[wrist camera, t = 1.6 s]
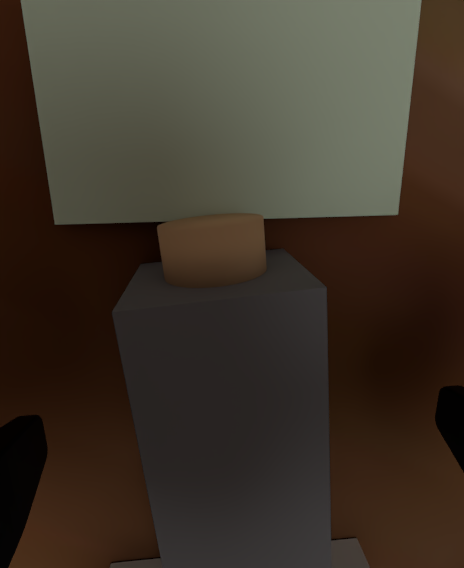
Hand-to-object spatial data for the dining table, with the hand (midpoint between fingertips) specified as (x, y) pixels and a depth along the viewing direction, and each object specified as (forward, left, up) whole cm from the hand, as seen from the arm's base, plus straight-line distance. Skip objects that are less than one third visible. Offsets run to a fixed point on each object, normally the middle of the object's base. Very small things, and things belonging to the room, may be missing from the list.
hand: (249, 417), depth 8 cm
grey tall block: (-4, 0, -3) cm, 5 cm away
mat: (+9, 0, -3) cm, 10 cm away
